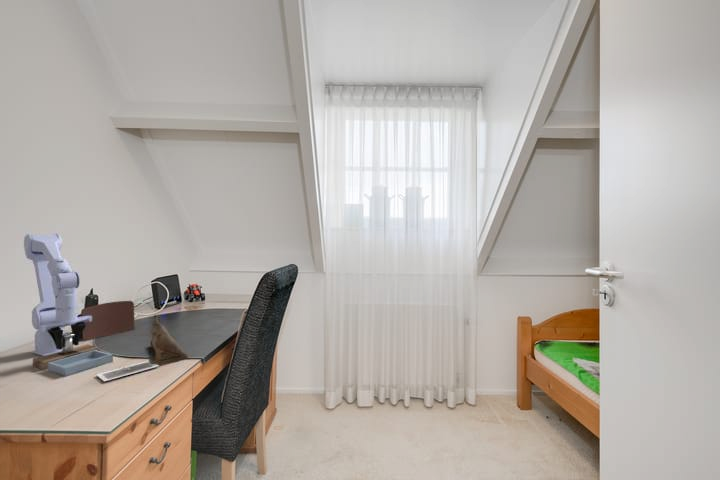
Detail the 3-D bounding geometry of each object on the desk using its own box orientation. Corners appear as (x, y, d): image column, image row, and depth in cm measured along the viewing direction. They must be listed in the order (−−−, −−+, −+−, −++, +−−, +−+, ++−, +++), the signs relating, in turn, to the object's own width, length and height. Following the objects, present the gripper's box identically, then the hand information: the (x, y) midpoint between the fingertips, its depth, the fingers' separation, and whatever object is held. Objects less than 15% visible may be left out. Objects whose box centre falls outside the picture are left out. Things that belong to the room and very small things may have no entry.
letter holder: (135, 330, 159) (134, 298, 159) (82, 342, 142) (81, 307, 142) (124, 327, 164) (123, 296, 164) (72, 338, 148) (71, 304, 147)
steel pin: (56, 359, 121) (56, 334, 121) (71, 355, 125) (71, 331, 125) (63, 361, 119) (62, 336, 119) (78, 356, 123) (78, 333, 123)
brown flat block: (33, 366, 116) (32, 358, 116) (87, 351, 131) (87, 344, 131) (44, 370, 113) (44, 362, 113) (99, 354, 128) (99, 347, 127)
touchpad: (159, 369, 115) (159, 362, 115) (104, 385, 103) (104, 377, 103) (149, 363, 120) (149, 357, 120) (96, 378, 108) (95, 371, 108)
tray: (47, 370, 113) (47, 362, 113) (95, 356, 125) (95, 349, 125) (65, 376, 108) (65, 368, 108) (112, 361, 120) (112, 354, 120)
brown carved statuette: (151, 373, 116) (137, 322, 113) (150, 368, 120) (135, 319, 117) (190, 358, 123) (177, 310, 120) (187, 354, 127) (174, 306, 124)
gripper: (46, 313, 113) (47, 355, 114) (96, 304, 126) (97, 342, 127) (35, 311, 116) (36, 351, 117) (85, 302, 129) (86, 339, 130)
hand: (67, 346), depth 122 cm, fingers closed on steel pin, 4 cm apart
